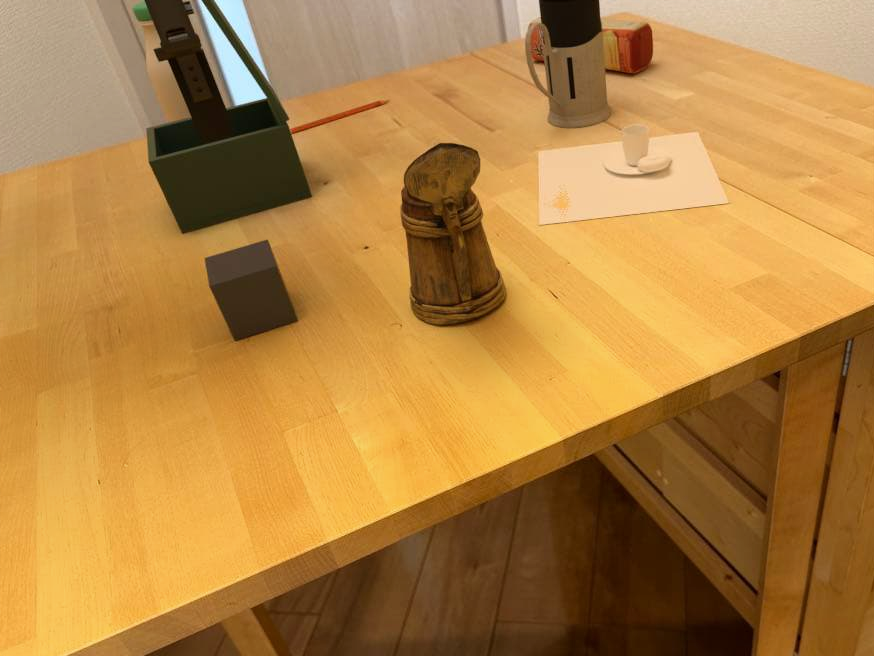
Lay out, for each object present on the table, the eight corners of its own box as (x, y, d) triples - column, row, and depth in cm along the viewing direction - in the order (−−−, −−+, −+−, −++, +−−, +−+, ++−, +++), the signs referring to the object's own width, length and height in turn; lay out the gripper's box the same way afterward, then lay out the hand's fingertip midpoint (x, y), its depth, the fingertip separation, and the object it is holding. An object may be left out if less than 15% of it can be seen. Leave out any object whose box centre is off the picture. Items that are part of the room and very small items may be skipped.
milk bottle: (243, 153, 109) (185, -1, 96) (189, 169, 106) (122, 14, 94) (232, 138, 114) (175, -9, 101) (180, 154, 112) (115, 5, 99)
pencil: (281, 136, 113) (279, 131, 112) (390, 101, 119) (388, 96, 119) (282, 137, 112) (281, 133, 112) (392, 102, 118) (391, 98, 118)
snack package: (526, 63, 125) (520, 19, 120) (552, 51, 128) (548, 7, 124) (631, 79, 113) (629, 30, 108) (657, 65, 116) (656, 16, 112)
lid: (185, -24, 77) (259, -68, 77) (179, -41, 86) (245, -80, 87) (284, 123, 88) (348, 84, 89) (269, 94, 98) (327, 59, 98)
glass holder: (623, 106, 105) (616, -15, 95) (567, 147, 96) (554, 18, 87) (569, 101, 109) (558, -16, 99) (511, 139, 101) (493, 16, 91)
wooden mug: (432, 364, 64) (377, 159, 53) (403, 288, 74) (352, 102, 63) (532, 335, 66) (500, 129, 54) (490, 265, 76) (456, 78, 64)
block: (234, 341, 71) (209, 286, 67) (228, 311, 75) (204, 257, 71) (298, 320, 72) (276, 265, 68) (288, 292, 77) (267, 239, 73)
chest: (182, 233, 91) (148, 161, 85) (176, 195, 100) (146, 128, 94) (312, 196, 94) (288, 125, 89) (295, 162, 104) (272, 96, 98)
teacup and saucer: (677, 176, 86) (676, 141, 83) (606, 185, 86) (604, 150, 84) (666, 146, 93) (666, 112, 90) (601, 154, 93) (598, 121, 91)
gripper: (150, -204, 45) (275, 146, 59) (137, -194, 63) (235, 72, 77) (14, -182, 43) (176, 174, 57) (41, -178, 61) (159, 91, 75)
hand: (211, 115), depth 67 cm, fingers open, 13 cm apart
